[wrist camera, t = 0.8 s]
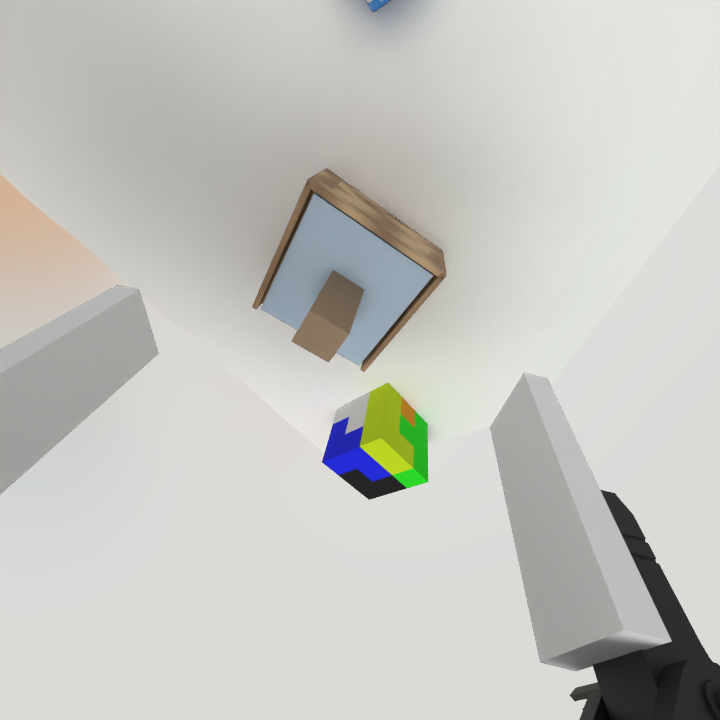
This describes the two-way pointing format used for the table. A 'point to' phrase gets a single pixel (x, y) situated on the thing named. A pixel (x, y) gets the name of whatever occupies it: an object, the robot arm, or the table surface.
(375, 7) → the ink box
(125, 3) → the table surface
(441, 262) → the oak box
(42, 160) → the table surface
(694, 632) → the robot arm
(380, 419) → the puzzle toy
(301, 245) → the cover plate
